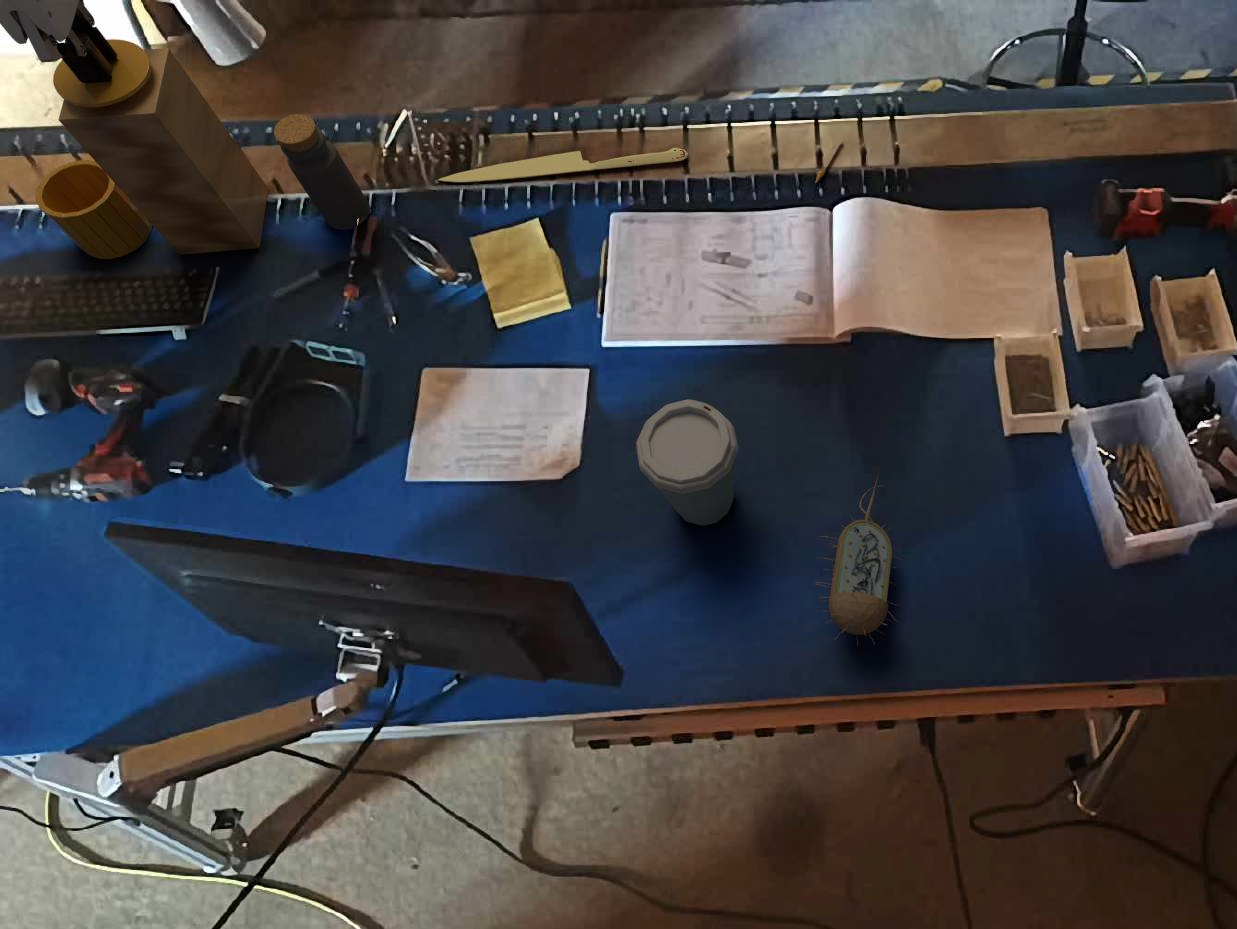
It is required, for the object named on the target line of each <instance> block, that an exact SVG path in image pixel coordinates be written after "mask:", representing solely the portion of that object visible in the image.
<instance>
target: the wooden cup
mask: <svg viewBox="0 0 1237 929" xmlns="http://www.w3.org/2000/svg"><path fill="white" fill-rule="evenodd" d="M35 201H36V204H37V207H38V209H40V211H41V212H42V213H43V214H44V215H45V216H46V217H48V219H49V220H51V222H52V223H54V225H56V226H57V227H58V229H59V230H61V232H63V233H64V235H66V236H67V238H69V239H70V240H71V241H72V242H73V244H75V245H76V246H77V247H78V248H79V249H80V250H81V251H83V252H84V253H85V254H86V255H88V256H90V257H92V258H95V259H101V260H107V259H108V260H110V259H116V258H121V257H124V256H126V255H129V254H130V253H133V252H135V251H136V250H137V249H139V248H140V247H141V246H142V245H143V244H145V242H146V241H147V240H148V238H149V237H150V235H151V233H152V230H153V227H154V226H153V225H152V224H151V223H150V222H149V221H148V220H147V219H146V217H145V216H144V215H143V214H142V213H141V212H140V211H139V210H138V208H137V207H136V206H135V205H134V204H133V203H132V202H131V201H130V200H129V198H128V197H127V196H126V195H125V194H124V193H123V192H122V191H121V189H120V188H119V187H118V186H117V185H116V184H115V183H114V182H113V181H112V179H111V178H110V177H109V176H108V175H107V174H106V173H105V172H104V170H103V169H102V168H101V167H100V166H99V165H98V164H97V163H96V161H95V160H89V159H83V160H76V161H75V160H74V161H70V162H68V163H65V164H62V165H60V166H58V167H56V168H54V169H53V170H52V171H50V172H49V173H48V174H47V175H45V177H43V179H42V180H41V182H40V183H39V184H38V186H37V188H36V193H35Z"/></svg>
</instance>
